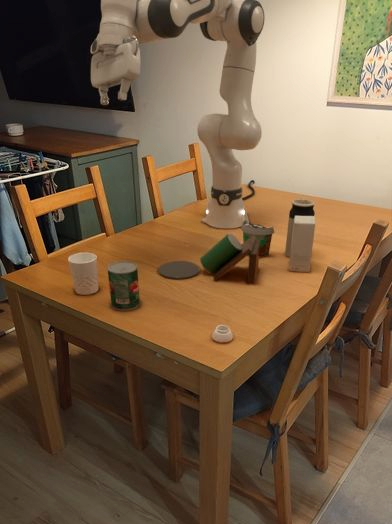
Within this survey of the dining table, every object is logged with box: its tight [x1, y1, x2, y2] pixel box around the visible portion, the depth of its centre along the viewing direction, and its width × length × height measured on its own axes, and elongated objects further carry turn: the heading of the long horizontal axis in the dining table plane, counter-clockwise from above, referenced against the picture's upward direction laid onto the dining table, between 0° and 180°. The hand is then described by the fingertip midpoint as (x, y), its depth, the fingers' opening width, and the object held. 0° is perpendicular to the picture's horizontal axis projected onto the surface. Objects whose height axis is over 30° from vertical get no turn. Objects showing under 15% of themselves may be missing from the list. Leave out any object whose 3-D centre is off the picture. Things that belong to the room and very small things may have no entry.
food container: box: [240, 220, 275, 258], centre depth 156 cm, size 12×6×10 cm, turn 47°
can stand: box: [213, 235, 260, 285], centre depth 142 cm, size 12×12×11 cm
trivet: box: [158, 260, 201, 280], centre depth 147 cm, size 13×13×1 cm
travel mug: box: [284, 198, 316, 258], centre depth 153 cm, size 8×8×18 cm
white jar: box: [211, 324, 234, 343], centre depth 112 cm, size 5×3×5 cm
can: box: [199, 233, 242, 274], centre depth 142 cm, size 6×13×13 cm, turn 78°
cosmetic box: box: [289, 215, 316, 273], centre depth 145 cm, size 8×7×16 cm
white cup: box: [67, 252, 99, 296], centre depth 133 cm, size 8×8×10 cm
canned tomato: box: [106, 260, 141, 312], centre depth 125 cm, size 8×8×11 cm
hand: (113, 102), depth 123 cm, fingers open, 8 cm apart
